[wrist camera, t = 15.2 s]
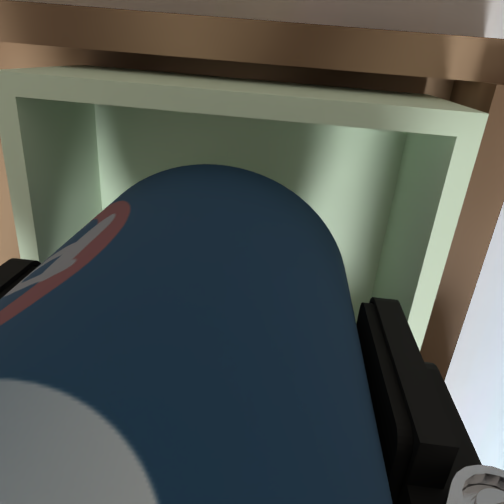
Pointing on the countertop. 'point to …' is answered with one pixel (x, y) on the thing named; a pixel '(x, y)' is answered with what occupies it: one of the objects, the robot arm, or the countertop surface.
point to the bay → (293, 71)
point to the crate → (248, 160)
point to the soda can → (189, 356)
